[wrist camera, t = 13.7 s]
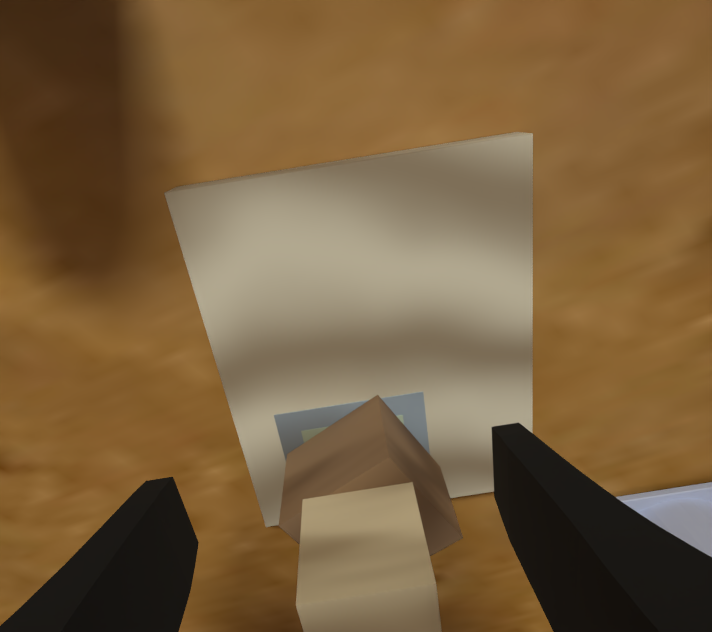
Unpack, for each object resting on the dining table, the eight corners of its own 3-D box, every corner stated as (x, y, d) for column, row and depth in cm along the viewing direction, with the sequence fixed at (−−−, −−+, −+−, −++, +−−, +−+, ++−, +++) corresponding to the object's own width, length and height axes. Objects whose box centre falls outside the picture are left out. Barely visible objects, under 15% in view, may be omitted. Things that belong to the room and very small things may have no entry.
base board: (520, 468, 24) (532, 490, 23) (270, 507, 24) (266, 532, 23) (516, 131, 18) (533, 133, 16) (176, 186, 18) (163, 193, 16)
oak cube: (422, 560, 19) (446, 670, 15) (322, 575, 19) (321, 689, 15) (412, 482, 17) (436, 584, 13) (302, 499, 17) (295, 605, 13)
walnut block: (440, 466, 22) (463, 537, 18) (353, 518, 23) (358, 596, 19) (377, 394, 20) (388, 457, 16) (287, 454, 21) (278, 525, 17)
